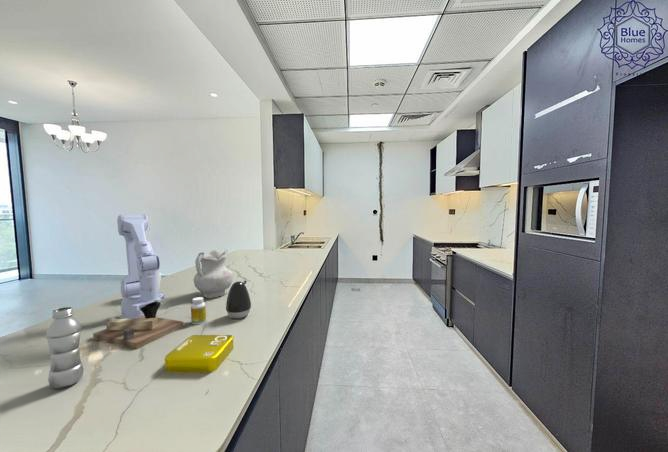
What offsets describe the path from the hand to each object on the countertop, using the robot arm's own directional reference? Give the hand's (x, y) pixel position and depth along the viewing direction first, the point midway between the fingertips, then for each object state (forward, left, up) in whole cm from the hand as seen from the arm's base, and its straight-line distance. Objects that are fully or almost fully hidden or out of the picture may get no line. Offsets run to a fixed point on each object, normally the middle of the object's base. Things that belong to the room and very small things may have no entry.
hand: (150, 322), depth 102 cm
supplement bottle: (+11, +12, -3) cm, 17 cm away
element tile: (+34, -9, -4) cm, 35 cm away
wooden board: (-2, -3, -3) cm, 4 cm away
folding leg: (-4, -5, -1) cm, 6 cm away
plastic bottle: (+10, -30, -3) cm, 32 cm away
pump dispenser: (+23, +22, -3) cm, 32 cm away
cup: (-39, +28, -3) cm, 48 cm away
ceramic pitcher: (-10, +42, -3) cm, 43 cm away
